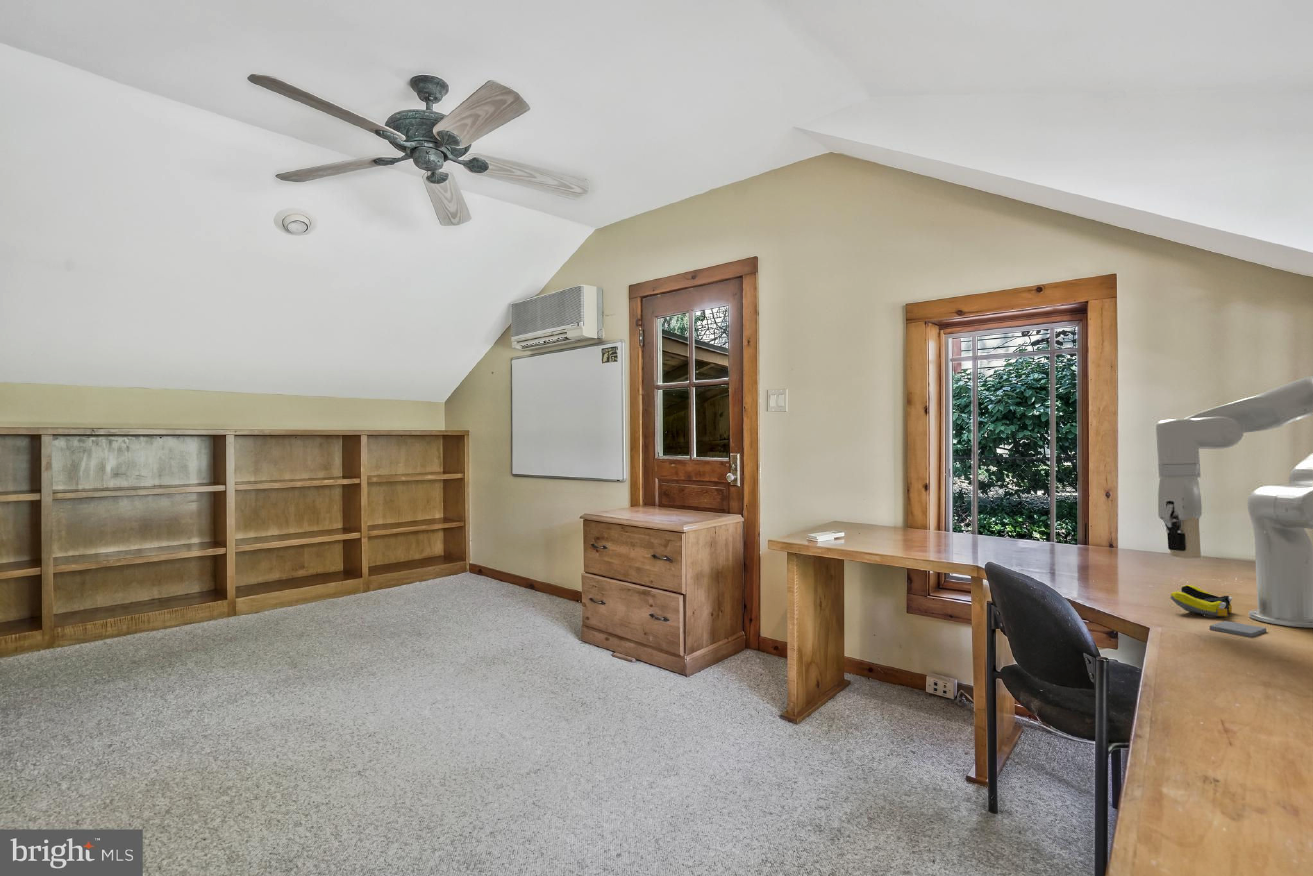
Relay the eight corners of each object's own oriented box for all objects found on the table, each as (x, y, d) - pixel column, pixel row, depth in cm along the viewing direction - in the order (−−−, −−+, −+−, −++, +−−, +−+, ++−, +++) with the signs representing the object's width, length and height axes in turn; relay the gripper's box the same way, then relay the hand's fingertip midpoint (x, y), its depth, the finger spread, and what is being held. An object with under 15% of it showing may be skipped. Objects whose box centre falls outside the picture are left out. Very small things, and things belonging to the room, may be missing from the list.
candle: (1175, 558, 144) (1173, 514, 144) (1165, 554, 149) (1163, 512, 149) (1205, 558, 142) (1203, 514, 142) (1194, 554, 147) (1192, 512, 147)
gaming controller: (1169, 614, 152) (1223, 622, 145) (1168, 591, 153) (1222, 598, 145) (1183, 604, 162) (1235, 611, 154) (1182, 583, 162) (1234, 589, 154)
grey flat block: (1225, 624, 142) (1225, 620, 142) (1266, 631, 136) (1266, 628, 136) (1209, 629, 138) (1209, 625, 138) (1251, 637, 132) (1251, 633, 132)
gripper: (1178, 470, 153) (1182, 543, 153) (1141, 473, 145) (1146, 550, 145) (1216, 470, 147) (1221, 547, 146) (1180, 473, 139) (1185, 554, 138)
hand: (1183, 548), depth 145 cm, fingers closed on candle, 5 cm apart
